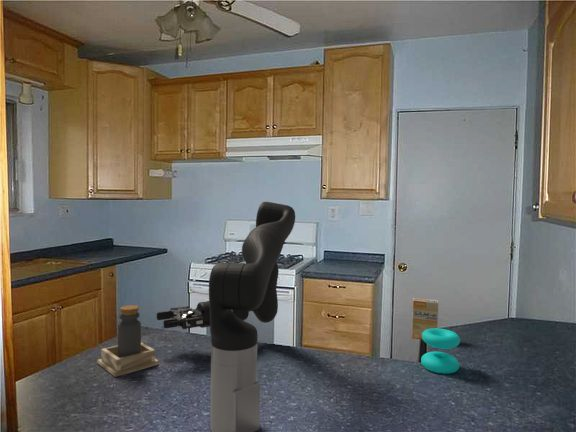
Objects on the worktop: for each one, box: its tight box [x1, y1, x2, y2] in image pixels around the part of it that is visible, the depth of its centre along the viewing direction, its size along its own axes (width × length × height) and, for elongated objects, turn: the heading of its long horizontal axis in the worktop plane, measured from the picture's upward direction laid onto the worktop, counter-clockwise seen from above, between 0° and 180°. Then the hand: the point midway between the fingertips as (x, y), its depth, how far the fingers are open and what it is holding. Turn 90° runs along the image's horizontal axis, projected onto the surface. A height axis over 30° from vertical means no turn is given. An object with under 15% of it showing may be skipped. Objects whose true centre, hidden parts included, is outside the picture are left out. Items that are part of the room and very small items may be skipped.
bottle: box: [117, 304, 142, 358], centre depth 114 cm, size 6×6×15 cm
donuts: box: [420, 327, 461, 375], centre depth 116 cm, size 10×10×10 cm
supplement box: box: [411, 297, 439, 341], centre depth 141 cm, size 8×5×13 cm, turn 73°
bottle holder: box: [97, 341, 160, 378], centre depth 115 cm, size 12×12×4 cm
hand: (160, 320), depth 119 cm, fingers open, 8 cm apart
